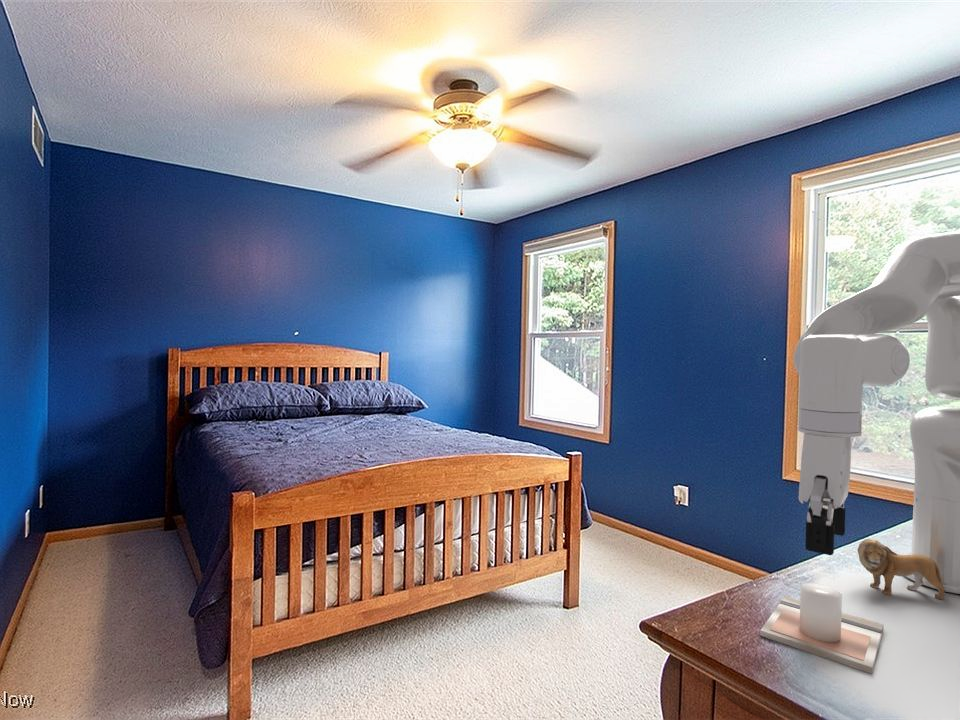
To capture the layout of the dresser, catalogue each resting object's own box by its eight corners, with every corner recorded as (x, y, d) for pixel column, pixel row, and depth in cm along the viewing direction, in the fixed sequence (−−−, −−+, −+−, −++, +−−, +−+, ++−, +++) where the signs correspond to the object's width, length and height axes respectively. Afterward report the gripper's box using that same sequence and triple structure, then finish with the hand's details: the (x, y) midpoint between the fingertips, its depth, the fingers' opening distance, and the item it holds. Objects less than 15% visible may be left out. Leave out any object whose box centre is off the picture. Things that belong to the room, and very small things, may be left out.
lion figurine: (868, 597, 91) (871, 544, 90) (847, 584, 96) (849, 533, 96) (957, 601, 90) (960, 547, 90) (931, 587, 96) (933, 536, 95)
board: (784, 600, 88) (785, 595, 88) (883, 629, 80) (883, 623, 80) (760, 635, 77) (760, 629, 77) (871, 673, 69) (872, 666, 69)
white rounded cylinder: (803, 620, 80) (804, 580, 80) (843, 632, 77) (844, 590, 77) (796, 633, 76) (797, 591, 76) (838, 646, 73) (839, 602, 73)
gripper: (810, 414, 85) (807, 521, 86) (784, 426, 72) (781, 553, 73) (868, 418, 80) (865, 532, 81) (852, 433, 67) (848, 568, 68)
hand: (825, 542), depth 77 cm, fingers open, 9 cm apart
